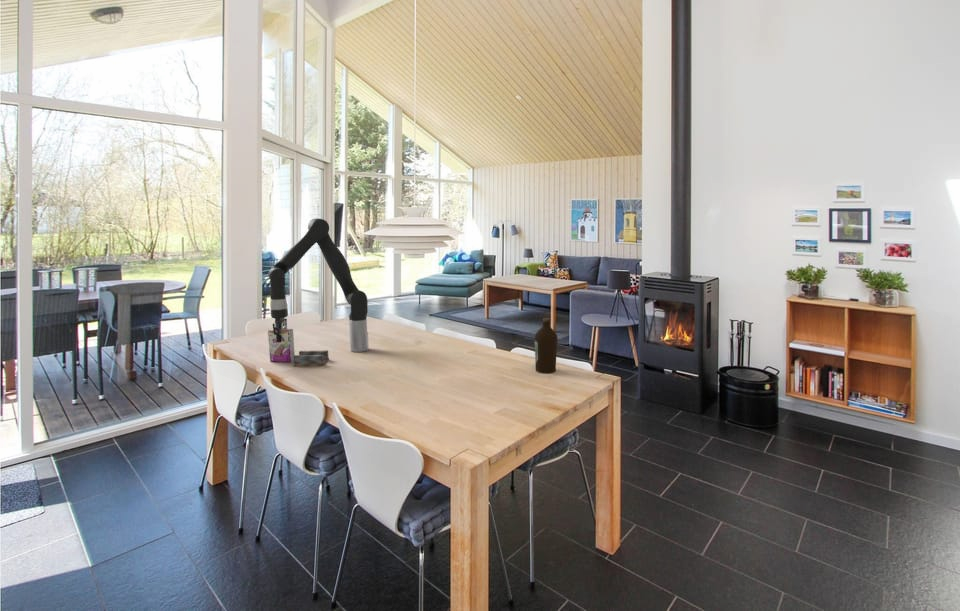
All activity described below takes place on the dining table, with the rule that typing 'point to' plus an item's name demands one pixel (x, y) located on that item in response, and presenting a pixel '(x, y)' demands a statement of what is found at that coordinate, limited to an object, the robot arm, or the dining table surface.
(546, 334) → the olive oil
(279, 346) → the candy bar box
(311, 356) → the rail holder
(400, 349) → the dining table surface
